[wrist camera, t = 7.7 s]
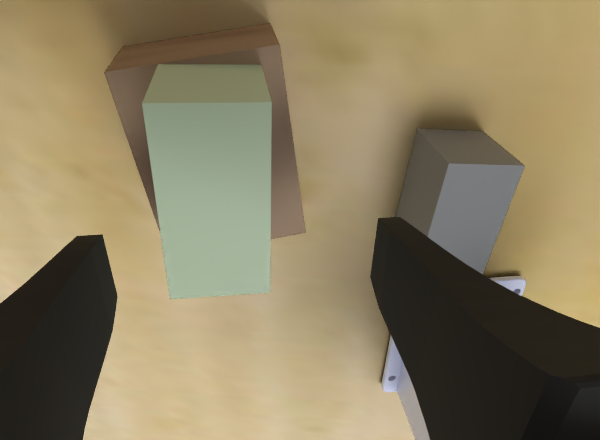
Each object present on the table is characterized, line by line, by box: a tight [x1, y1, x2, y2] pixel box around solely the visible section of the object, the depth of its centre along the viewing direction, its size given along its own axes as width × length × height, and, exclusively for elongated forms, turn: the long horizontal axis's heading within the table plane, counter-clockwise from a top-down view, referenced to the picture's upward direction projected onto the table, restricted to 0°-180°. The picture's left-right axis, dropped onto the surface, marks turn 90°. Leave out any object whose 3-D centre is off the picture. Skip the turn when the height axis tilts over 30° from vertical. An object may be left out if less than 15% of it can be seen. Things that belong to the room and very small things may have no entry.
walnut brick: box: [104, 23, 306, 239], centre depth 20 cm, size 8×6×4 cm
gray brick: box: [396, 128, 525, 274], centre depth 24 cm, size 7×4×4 cm, turn 174°
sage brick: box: [142, 64, 272, 299], centre depth 17 cm, size 7×4×4 cm, turn 178°
